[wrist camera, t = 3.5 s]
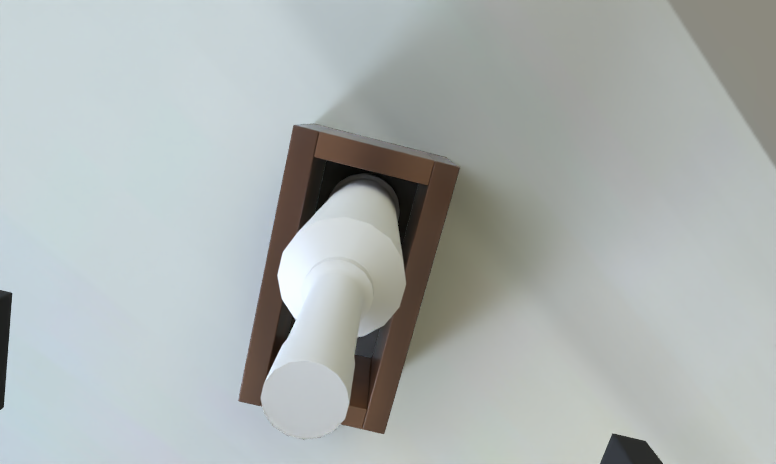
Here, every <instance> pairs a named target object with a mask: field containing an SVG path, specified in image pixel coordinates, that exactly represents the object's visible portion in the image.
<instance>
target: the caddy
mask: <svg viewBox="0 0 776 464" xmlns="http://www.w3.org/2000/svg"><path fill="white" fill-rule="evenodd" d="M327 160H328V161H332V162H336V163H340V164H344V165H348V166H352V167H356V168H360V169H364V170H368V171H372V172H376V173H379V174H383V175H387V176H391V177H395V178H399V179H403V180H407V181H411V182H415V183H418V187H417V190H416V194H415V198H414V202H413V205H412V209H411V213H410V217H409V220H408V224H407V228H406V232H405V235H404V239H403V243H402V247H401V249H402V256H403V263H404V271H405V279H406V287H405V290H404V293H403V297H402V300H401V303H400V307H399V308H398V309H397V311H396V312H395V313H394V314H393V315H392V317H391V318H390V319H389V320H388V321H387V323H386V324H385V325H384V326H382V327H380V329H379V333H378V337H377V340H376V344H375V348H374V352H373V355H372V359H371V358H368V357H364V356H359V355H354V359H355V368H354V375H353V382H352V389H351V396H350V402H349V407H348V410H347V414H346V417H345V419H344V420H343V422H342V423H341V424H342V425H346V426H351V427H355V428H360V429H364V430H368V431H372V432H377V433H381V434H384V433H385V429H386V426H387V422H388V419H389V415H390V412H391V408H392V405H393V401H394V398H395V394H396V391H397V387H398V384H399V380H400V377H401V373H402V370H403V366H404V363H405V359H406V356H407V352H408V349H409V345H410V342H411V338H412V335H413V331H414V328H415V324H416V320H417V317H418V313H419V310H420V306H421V303H422V299H423V296H424V292H425V289H426V285H427V282H428V278H429V275H430V271H431V268H432V264H433V261H434V257H435V254H436V250H437V247H438V243H439V240H440V236H441V233H442V229H443V226H444V222H445V219H446V215H447V211H448V208H449V204H450V201H451V197H452V194H453V190H454V187H455V183H456V180H457V176H458V173H459V169H460V167H459V166H457V165H456V164H455V163H453V162H452V161H450V160H449V159H448V158H446V157H443V156H439V155H435V154H431V153H426V152H423V151H419V150H415V149H411V148H408V147H404V146H400V145H396V144H392V143H388V142H384V141H380V140H376V139H372V138H368V137H364V136H361V135H357V134H353V133H349V132H345V131H341V130H337V129H333V128H329V127H325V126H321V125H317V124H301V125H294V126H293V130H292V135H291V140H290V145H289V150H288V155H287V160H286V165H285V170H284V175H283V180H282V185H281V190H280V195H279V200H278V205H277V210H276V215H275V220H274V225H273V230H272V235H271V240H270V245H269V250H268V255H267V260H266V265H265V270H264V275H263V280H262V285H261V290H260V295H259V300H258V304H257V309H256V314H255V319H254V324H253V329H252V334H251V339H250V344H249V349H248V354H247V359H246V364H245V369H244V374H243V379H242V384H241V389H240V394H239V399H238V401H240V402H244V403H249V404H253V405H258V406H262V403H261V394H262V390H263V385H264V382H265V380H266V378H267V376H268V374H269V372H270V369H271V367H272V365H273V363H274V361H275V359H276V357H277V355H278V353H279V351H280V349H281V347H282V345H283V343H284V342H285V341H286V340H287V338H288V334H289V329H290V324H291V320H292V314H291V312H290V311H289V309H288V308H287V306H286V305H285V303H284V302H283V300H282V297H281V292H280V287H279V281H278V276H277V275H278V271H279V266H280V262H281V258H282V253H283V251H284V250H285V249H286V247H287V246H288V245H289V243H290V242H291V241H292V239H293V238H294V237H295V235H296V234H297V233H298V232H299V230H300V229H301V228H302V227H303V226H304V225H305V224H306V223H307V222H308V221H309V220H310V219H311V218H312V217H313V215H314V214H315V211H316V206H317V202H318V197H319V193H320V188H321V184H322V179H323V175H324V170H325V165H326V161H327Z"/></svg>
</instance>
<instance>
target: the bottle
mask: <svg viewBox="0 0 776 464" xmlns="http://www.w3.org/2000/svg"><path fill="white" fill-rule="evenodd" d="M399 215H400V210H399V202H398V197H397V196H396V194H395V192H394V190H393V189H392V187H391V185H390V184H388V183H387V182H386V181H384V180H383V179H382V178H381V177H379V176H375V175H372V174H368V173H362V174H354V175H350V176H349V177H347V178H345V179H343V180H342V181H340V182H339V183H338V184H337V185H336V186H335V188H334V189H333V190H332V192H331V193H330V194H329V198H328V200H327V202H326V203H325V204H324V205H323V206H322V207H321V208H320V209H319V210H318V211H317V212H316V213H315V214H314V215H313V217H312V218H311V219H310V220H309V221H308V222H307V223H306V224H305V225H304V226H303V227H302V228H301V229H300V230H299V232H298V233H297V234H296V235H295V237H294V238H293V239H292V241H291V242H290V243H289V245H288V246H287V247H286V249H285V250H284V251H283V253H282V258H281V262H280V266H279V271H278V275H277V276H278V281H279V287H280V292H281V297H282V300H283V302H284V303H285V305H286V306H287V308H288V309H289V311H290V312H291V314H292V315H293V317H294V318H295V319H296V321H295V323H294V326H293V328H292V330H291V332H290V334H289V336H288V338H287V340H286V341H285V342H284V343H283V345H282V347H281V349H280V351H279V353H278V355H277V357H276V359H275V361H274V363H273V365H272V367H271V369H270V372H269V374H268V376H267V378H266V380H265V382H264V385H263V390H262V394H261V403H262V407H263V412H264V414H265V416H266V417H267V418H268V420H269V421H270V423H271V424H272V426H273V427H275V428H276V429H278V430H279V431H281V432H282V433H284V434H285V435H287V436H291V437H295V438H299V439H303V440H304V439H313V438H321V437H323V436H325V435H327V434H329V433H331V432H333V431H335V430H336V429H337V427H338V426H339V425H340V424H341V423H342V422H343V420H344V419H345V417H346V414H347V410H348V407H349V402H350V396H351V389H352V382H353V375H354V368H355V359H354V355H355V349H356V343H357V337H363V336H365V335H367V334H369V333H371V332H373V331H374V330H376V329H378V328H380V327H382V326H384V325H385V324H386V323H387V321H388V320H389V319H390V318H391V317H392V315H393V314H394V313H395V312H396V311H397V309H398V308H399V307H400V303H401V300H402V297H403V293H404V290H405V287H406V279H405V271H404V263H403V256H402V249H401V243H400V236H399V229H398V223H397V222H398V218H399Z"/></svg>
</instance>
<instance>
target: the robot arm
mask: <svg viewBox="0 0 776 464" xmlns="http://www.w3.org/2000/svg"><path fill="white" fill-rule="evenodd" d="M11 303H12V293H10V292H6V291H2V290H0V410H1V409H2V408H3V407H4V396H5V382H6V369H7V356H8V343H9V329H10V316H11ZM600 464H663V463H662V462H661V460H660V459H659V458H658V457H657V455H656V454H655V453H654V451H653V450H652V449H651V448H650V446H649V445H648V444H647V442H646V441H643V440H638V439H634V438H630V437H626V436H621V435H617V434H613V433H612V436H611V438H610V441H609V443H608V446H607V448H606V451H605V453H604V455H603V458H602V460H601V463H600Z"/></svg>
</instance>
